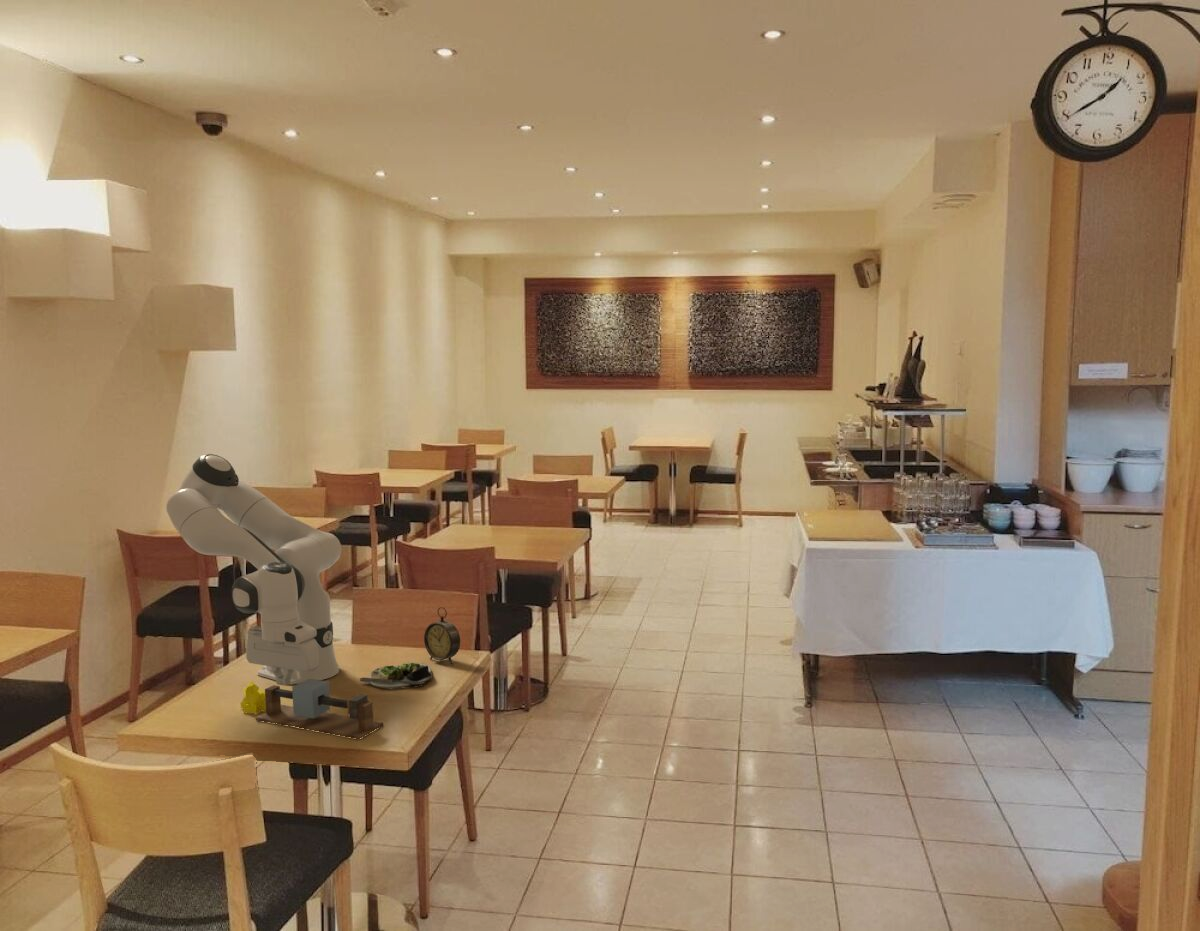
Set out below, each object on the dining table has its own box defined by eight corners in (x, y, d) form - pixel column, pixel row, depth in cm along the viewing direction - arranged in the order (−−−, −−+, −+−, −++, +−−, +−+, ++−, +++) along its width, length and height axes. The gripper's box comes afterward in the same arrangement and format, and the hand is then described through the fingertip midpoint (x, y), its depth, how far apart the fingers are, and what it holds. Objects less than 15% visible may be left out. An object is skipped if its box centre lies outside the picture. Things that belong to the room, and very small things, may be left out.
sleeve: (293, 714, 226) (292, 686, 225) (310, 706, 231) (309, 678, 230) (313, 718, 223) (312, 690, 222) (330, 709, 229) (328, 681, 228)
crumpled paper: (263, 715, 232) (262, 685, 231) (235, 712, 234) (234, 682, 233) (277, 706, 238) (276, 677, 237) (250, 703, 240) (248, 674, 239)
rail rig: (255, 720, 229) (254, 688, 228) (281, 707, 237) (280, 676, 236) (359, 740, 216) (358, 706, 215) (383, 725, 225) (381, 693, 224)
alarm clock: (423, 660, 272) (421, 606, 270) (436, 655, 276) (435, 602, 274) (451, 667, 266) (449, 612, 264) (464, 662, 270) (462, 607, 268)
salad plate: (359, 696, 245) (358, 679, 245) (359, 673, 262) (359, 657, 262) (434, 689, 250) (433, 672, 249) (429, 667, 267) (429, 651, 267)
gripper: (238, 628, 229) (241, 682, 231) (304, 637, 221) (307, 694, 222) (257, 621, 235) (260, 674, 236) (322, 630, 227) (324, 685, 228)
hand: (283, 684), depth 229 cm, fingers closed
